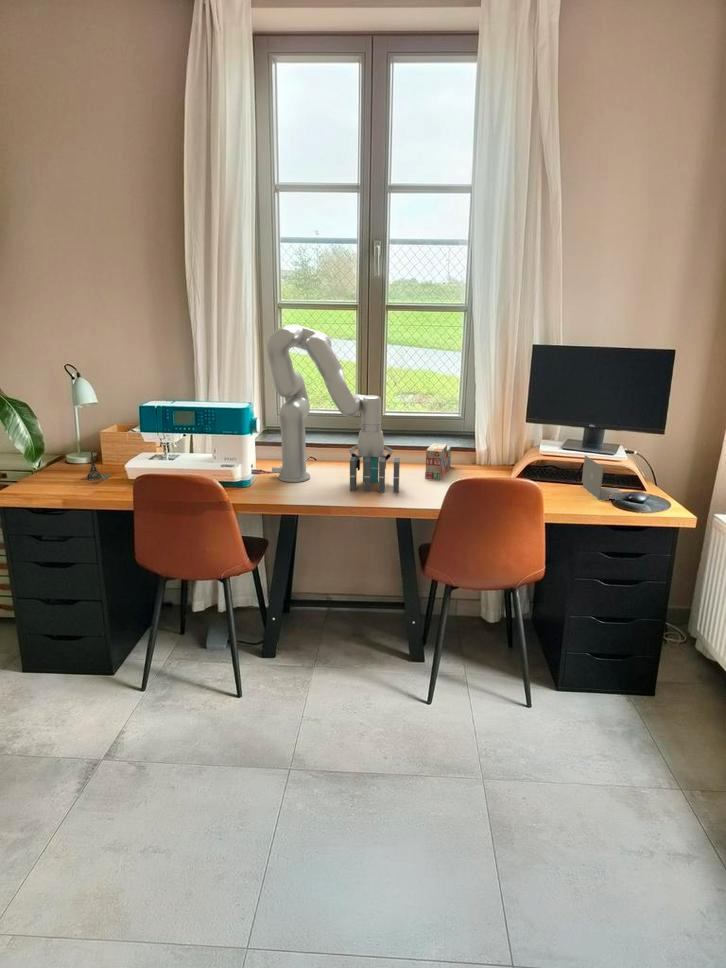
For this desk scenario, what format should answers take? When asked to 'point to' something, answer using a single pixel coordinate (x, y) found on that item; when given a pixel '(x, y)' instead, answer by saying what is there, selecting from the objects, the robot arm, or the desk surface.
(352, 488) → the domino
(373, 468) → the teal domino
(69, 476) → the desk surface
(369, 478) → the domino
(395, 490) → the domino
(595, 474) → the laptop
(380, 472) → the domino
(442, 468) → the stack of blocks
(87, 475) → the eiffel tower figurine
